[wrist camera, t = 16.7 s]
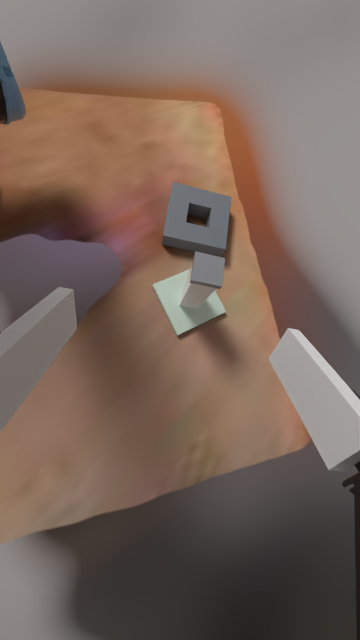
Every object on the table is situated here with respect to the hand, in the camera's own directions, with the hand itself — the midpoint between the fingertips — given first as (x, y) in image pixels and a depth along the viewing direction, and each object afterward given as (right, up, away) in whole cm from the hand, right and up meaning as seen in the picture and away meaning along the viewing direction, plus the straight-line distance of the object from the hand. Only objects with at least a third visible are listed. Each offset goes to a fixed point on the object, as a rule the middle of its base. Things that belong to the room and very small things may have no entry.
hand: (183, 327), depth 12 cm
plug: (+2, +5, +30) cm, 30 cm away
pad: (+2, +5, +31) cm, 31 cm away
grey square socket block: (+4, +23, +35) cm, 42 cm away
